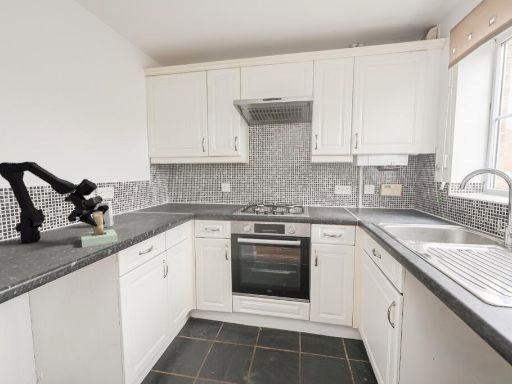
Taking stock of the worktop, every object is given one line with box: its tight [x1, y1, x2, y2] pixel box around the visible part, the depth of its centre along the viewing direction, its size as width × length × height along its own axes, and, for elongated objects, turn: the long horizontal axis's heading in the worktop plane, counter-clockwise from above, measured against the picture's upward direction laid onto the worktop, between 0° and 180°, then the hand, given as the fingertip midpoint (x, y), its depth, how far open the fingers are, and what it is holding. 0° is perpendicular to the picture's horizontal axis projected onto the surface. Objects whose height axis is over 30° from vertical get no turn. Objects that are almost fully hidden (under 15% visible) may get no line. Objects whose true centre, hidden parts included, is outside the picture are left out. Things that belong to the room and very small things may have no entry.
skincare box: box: [94, 200, 114, 228], centre depth 145 cm, size 8×7×16 cm
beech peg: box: [92, 212, 105, 236], centre depth 115 cm, size 4×4×13 cm
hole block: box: [80, 228, 119, 248], centre depth 115 cm, size 14×14×4 cm
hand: (100, 225), depth 114 cm, fingers closed on beech peg, 4 cm apart
